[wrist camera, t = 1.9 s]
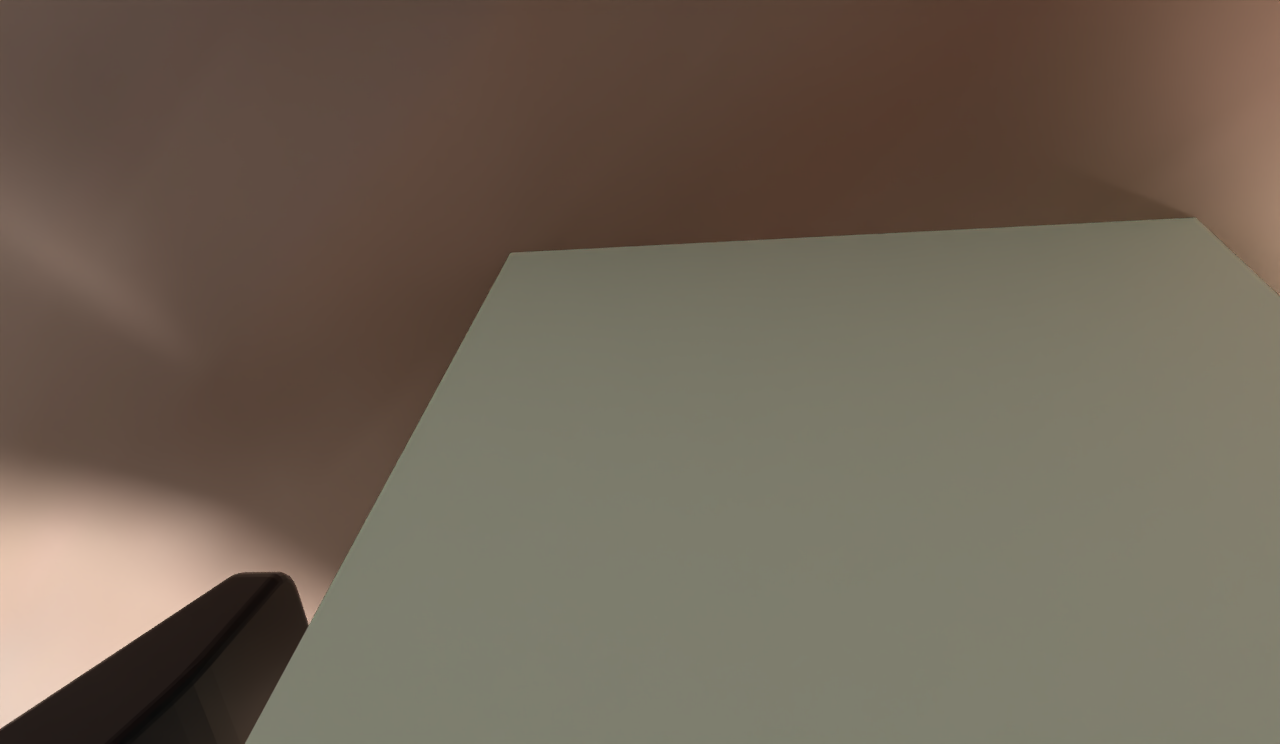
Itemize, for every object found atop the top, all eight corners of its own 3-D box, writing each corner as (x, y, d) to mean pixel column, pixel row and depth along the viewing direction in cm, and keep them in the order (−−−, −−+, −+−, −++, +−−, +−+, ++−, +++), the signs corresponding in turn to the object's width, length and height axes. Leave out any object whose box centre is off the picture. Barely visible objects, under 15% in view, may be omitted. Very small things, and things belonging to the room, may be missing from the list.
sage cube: (1190, 213, 7) (1807, 790, 3) (1107, 715, 10) (1392, 1446, 5) (511, 248, 8) (232, 765, 4) (586, 711, 10) (467, 1362, 6)
